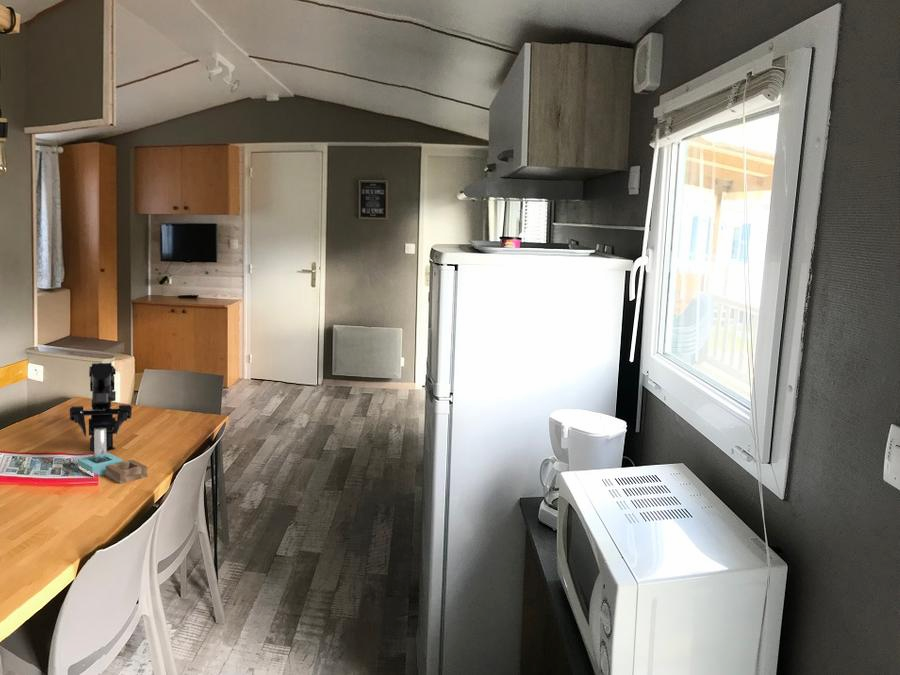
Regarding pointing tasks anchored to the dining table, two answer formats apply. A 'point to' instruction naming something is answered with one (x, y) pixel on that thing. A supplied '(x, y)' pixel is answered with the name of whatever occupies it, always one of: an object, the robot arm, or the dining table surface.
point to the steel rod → (100, 445)
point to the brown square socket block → (126, 471)
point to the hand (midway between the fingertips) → (100, 434)
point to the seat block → (98, 464)
